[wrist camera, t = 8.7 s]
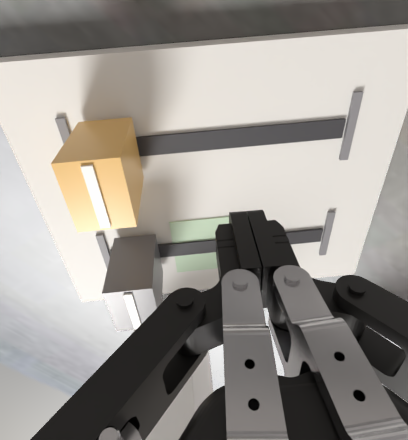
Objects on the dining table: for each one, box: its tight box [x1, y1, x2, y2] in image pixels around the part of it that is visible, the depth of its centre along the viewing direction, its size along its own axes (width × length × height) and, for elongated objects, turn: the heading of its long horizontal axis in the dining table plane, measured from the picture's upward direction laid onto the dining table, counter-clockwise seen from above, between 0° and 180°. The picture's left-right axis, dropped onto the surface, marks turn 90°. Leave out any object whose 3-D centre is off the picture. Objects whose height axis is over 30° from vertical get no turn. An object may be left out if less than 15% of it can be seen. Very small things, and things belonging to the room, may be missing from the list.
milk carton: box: [134, 330, 213, 440], centre depth 32 cm, size 7×7×19 cm
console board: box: [0, 24, 408, 302], centre depth 27 cm, size 28×22×2 cm
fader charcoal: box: [102, 234, 163, 332], centre depth 26 cm, size 4×4×6 cm
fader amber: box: [51, 117, 144, 233], centre depth 20 cm, size 4×4×6 cm
